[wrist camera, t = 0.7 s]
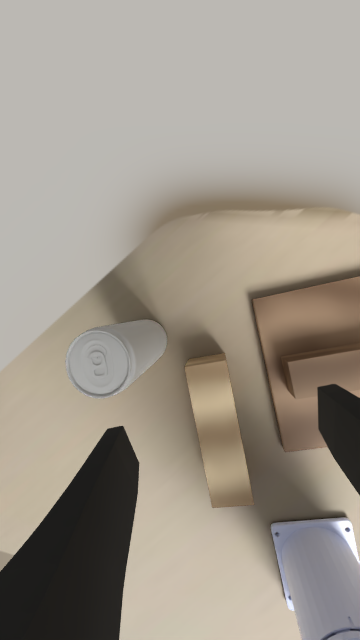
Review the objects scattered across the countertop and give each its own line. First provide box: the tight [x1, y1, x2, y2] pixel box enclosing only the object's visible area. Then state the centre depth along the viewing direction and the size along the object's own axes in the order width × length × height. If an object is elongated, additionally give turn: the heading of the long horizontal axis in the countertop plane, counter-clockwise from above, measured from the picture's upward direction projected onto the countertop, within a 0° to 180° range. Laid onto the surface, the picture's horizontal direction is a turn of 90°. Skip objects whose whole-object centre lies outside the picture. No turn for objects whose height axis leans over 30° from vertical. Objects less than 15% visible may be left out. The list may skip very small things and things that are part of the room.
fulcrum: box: [252, 276, 360, 452], centre depth 24 cm, size 16×12×4 cm
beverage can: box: [65, 319, 167, 398], centre depth 22 cm, size 5×5×12 cm
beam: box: [184, 353, 254, 508], centre depth 26 cm, size 14×4×4 cm, turn 11°
